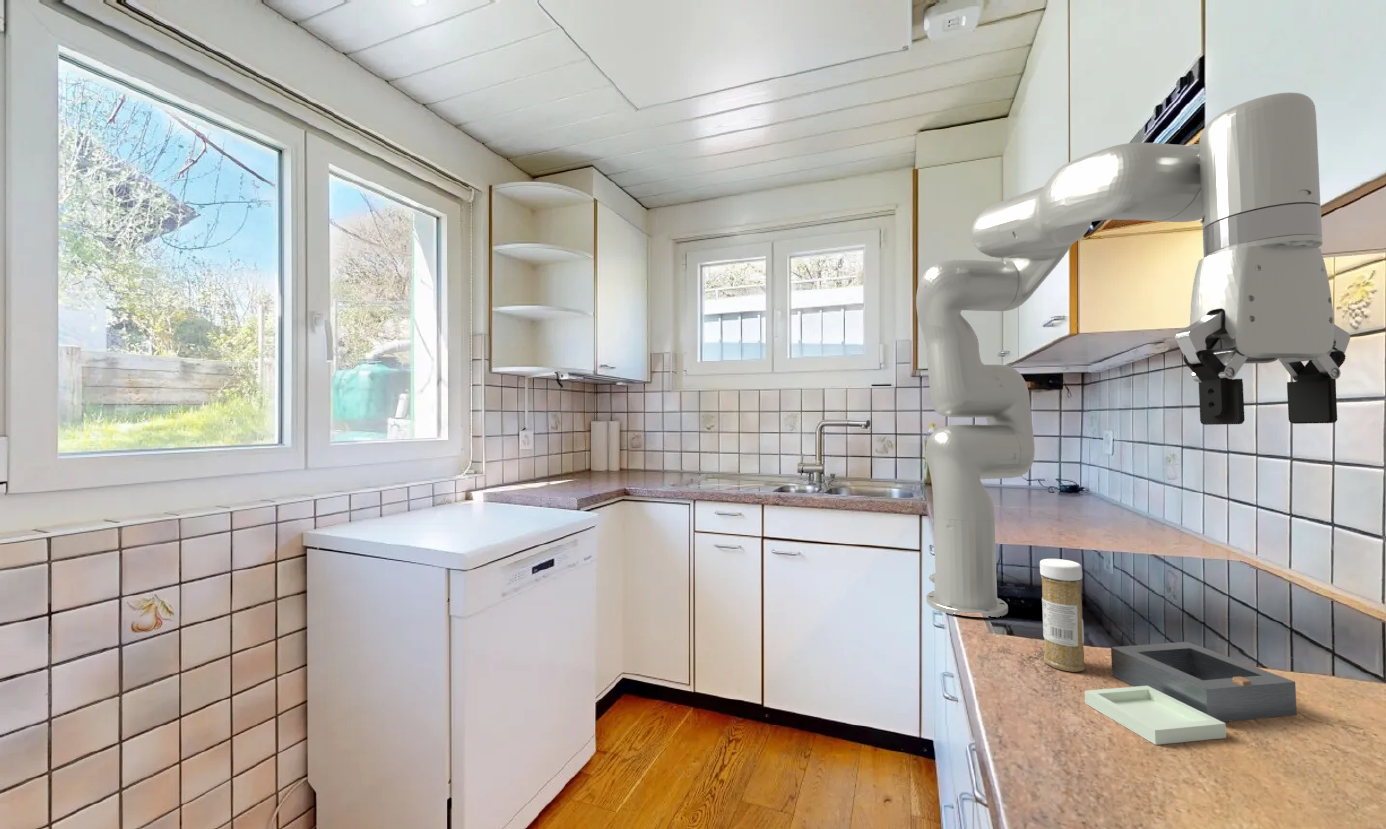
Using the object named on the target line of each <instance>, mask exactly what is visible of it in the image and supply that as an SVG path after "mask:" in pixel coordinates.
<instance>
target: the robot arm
mask: <svg viewBox="0 0 1386 829" xmlns="http://www.w3.org/2000/svg"><path fill="white" fill-rule="evenodd" d="M1317 128H1318V126H1317V111H1316V106H1315V102H1314V101H1313V100H1312V99H1311V98H1310V97H1309V96H1307V95H1306V94H1304V93H1301V92H1280V93H1273V94H1269V95H1265V96H1260V97H1258V98H1253V99H1251V100H1248V101H1244V102H1242V103H1239V104H1237V105H1235V106H1233V107H1231V108H1228V109H1227V110H1225V111H1223V112H1221V113H1219V114H1218V115H1217V116H1215V117H1214V118H1213V119H1212V120H1210V121H1209V122H1208V123H1207V124H1206V125H1205V127H1204V128H1203V130H1202V131H1201V134H1200V137H1199V139H1198V143H1195V144H1194V143H1193V144H1173V143H1172V144H1171V143H1163V142H1162V143H1160V142H1129V143H1122V144H1117V145H1113V146H1110V147H1109V146H1108V147H1106V148H1103V149H1101V150H1098V151H1097V150H1096V151H1095V152H1093V153H1089V154H1086V155H1084V156H1081V157H1079V158H1076V159H1074V160H1071V161H1069V162H1067V163H1065V164H1064V165H1062V166H1061V167H1059V168H1058V169H1057V170H1056V171H1054V173H1053V174H1052V175H1051V176H1050V178H1049V179H1048V180H1047V182H1046V183H1045V184H1044V186H1042V187H1038V188H1035V189H1033V190H1030V191H1028V192H1025V193H1022V194H1019V195H1016V196H1012V197H1010V198H1007V199H1005V200H1002V201H999V202H997V203H994V204H992V205H990V206H988V207H987V208H986V209H985V208H984V210H982V212H980V213H979V215H978V216H977V217H976V218H975V220H974V221H973V224H972V226H971V231H970V238H971V241H972V244H973V245H974V247H975V248H976V249H977V250H978V251H979V252H980V253H982V254H984V255H986V256H988V257H991V258H997V259H998V258H999V259H1008V260H1007V261H1006V260H1005V261H1001V260H983V259H981V260H979V259H952V260H945V261H941V262H938V263H935V264H933V265H931V266H930V267H929V268H927V270H926V271H924V273H923V275H922V276H921V278H920V281H919V282H918V287H917V289H916V298H915V303H916V304H915V307H916V313H917V314H916V315H917V319H918V322H919V326H920V328H921V331H922V335H923V338H924V341H925V348H926V361H927V371H928V372H927V374H928V383H929V384H928V385H929V394H930V400H931V405H932V407H933V409H934V411H935V412H936V413H937V414H938V415H941V416H942V417H947V418H948V417H949V418H985V419H986V423H987V424H954V425H947V426H943V427H940V428H938V429H936V430H934V431H933V432H932V433H931V434H930V435H929V436H928V439H927V441H926V442H925V443H926V444H925V457H926V461H927V467H928V471H929V474H930V480H931V482H930V483H931V490H932V503H933V504H932V505H933V527H934V528H933V534H934V535H933V536H934V571H935V572H934V573H933V574H930V575H929V576H928V579H929V581H930V582H931V583H934V590H933V591H930V592H928V593H927V594H926V595H925V596H926V598H925V599H926V603H927V605H929V607H931V608H932V609H934V610H936V611H939V612H942V613H945V614H947V615H948V614H949V615H953V613H954V612H965V613H983V614H985V615H987V616H991V617H996V618H1001V617H1003V616H1006V615H1007V614H1008V612H1009V606H1008V604H1007V603H1006V602H1005V601H1004V600H1002V599H1001V598H998V590H997V589H998V588H997V586H998V585H997V584H998V583H997V579H998V578H997V551H996V549H997V548H996V519H995V518H996V517H995V516H996V515H995V506H994V502H993V500H992V497H991V494H989V492H988V491H987V489H986V487H985V486H984V485H983V483H982V481H981V480H991V479H993V480H994V479H999V480H1000V479H1013V478H1018V477H1019V478H1020V477H1021V476H1024V475H1026V474H1027V473H1028V472H1029V470H1030V469H1031V467H1032V465H1033V463H1034V460H1035V452H1036V450H1035V437H1034V436H1035V435H1034V430H1033V429H1034V428H1033V419H1032V410H1031V401H1030V394H1029V389H1028V385H1027V382H1026V380H1025V379H1024V377H1023V375H1022V374H1021V373H1020V372H1019V371H1018V370H1017V369H1015V368H1014V367H1012V366H1008V365H1005V364H984V363H983V362H982V360H981V356H980V355H981V354H980V346H979V339H978V335H977V334H976V332H975V331H974V329H973V326H972V325H971V324H970V323H969V321H968V320H967V319H966V318H964V316H962V314H961V312H962V311H975V312H977V311H979V312H980V311H981V312H1006V311H1012V310H1015V309H1017V308H1018V307H1021V306H1022V305H1023V304H1024V303H1025V302H1027V300H1029V299H1030V297H1032V295H1033V294H1034V293H1035V291H1037V289H1038V288H1039V287H1040V286H1041V285H1042V283H1043V282H1044V281H1045V280H1046V279H1047V277H1048V276H1049V275H1050V274H1051V273H1052V272H1053V270H1054V269H1056V267H1057V265H1059V263H1060V262H1061V261H1062V259H1063V258H1064V257H1065V255H1066V254H1067V253H1068V252H1069V251H1070V249H1071V247H1072V246H1073V244H1074V243H1076V242H1078V241H1079V240H1080V239H1081V238H1083V237H1084V236H1085V234H1087V232H1088V231H1089V229H1090V227H1091V226H1092V222H1098V221H1105V220H1106V221H1107V220H1118V221H1119V220H1120V221H1121V220H1125V221H1126V220H1127V221H1128V220H1129V221H1147V222H1148V221H1149V222H1151V221H1152V222H1163V223H1164V222H1166V223H1188V222H1195V221H1199V220H1202V221H1201V223H1202V224H1201V225H1202V244H1203V246H1202V248H1203V258H1201V259H1200V260H1198V262H1197V267H1196V270H1195V274H1194V278H1193V285H1192V292H1191V301H1190V314H1189V315H1190V318H1189V320H1190V322H1189V325H1188V326H1186V327H1185V328H1183V329H1181V330H1179V331H1178V332H1177V333H1176V334H1175V337H1174V338H1175V341H1176V342H1177V344H1178V347H1179V348H1180V351H1181V354H1182V355H1183V362H1184V364H1185V365H1186V366H1187V368H1189V369H1190V370H1191V371H1192V373H1191V378H1192V380H1193V381H1194V382H1196V383H1198V398H1199V403H1198V404H1199V421H1200V423H1201V424H1202V425H1204V426H1205V425H1206V426H1207V425H1211V426H1212V425H1217V426H1218V425H1219V426H1220V425H1242V424H1243V423H1244V422H1245V420H1246V419H1245V404H1244V403H1245V401H1244V400H1245V399H1244V383H1243V378H1235V377H1236V376H1237V374H1238V373H1239V371H1240V370H1241V368H1242V367H1243V365H1244V364H1269V363H1274V362H1276V361H1279V362H1280V363H1281V365H1282V366H1283V367H1284V369H1285V370H1286V372H1288V374H1289V375H1290V377H1291V378H1292V379H1293V380H1294V381H1287V382H1286V392H1287V409H1288V410H1287V413H1288V414H1287V415H1288V422H1289V423H1291V424H1296V425H1298V424H1300V425H1301V424H1305V425H1306V424H1335V423H1337V421H1338V406H1337V405H1338V404H1337V383H1336V380H1338V379H1339V378H1340V377H1341V369H1340V368H1341V367H1342V365H1343V364H1344V363H1345V360H1346V354H1345V353H1346V351H1347V349H1348V347H1349V346H1348V345H1349V343H1350V341H1351V335H1350V333H1349V332H1348V331H1346V330H1345V329H1343V328H1341V327H1340V326H1338V325H1337V324H1335V321H1334V320H1335V319H1334V318H1335V317H1334V309H1333V308H1334V307H1333V300H1332V293H1331V287H1330V281H1329V276H1328V271H1327V267H1326V264H1325V260H1324V256H1323V254H1322V249H1321V248H1320V247H1321V246H1322V245H1323V238H1322V237H1323V230H1322V229H1323V228H1322V227H1323V225H1322V208H1321V191H1320V190H1321V188H1320V169H1319V166H1320V165H1319V149H1318V146H1319V145H1318V129H1317ZM1306 361H1307V362H1306ZM1303 362H1306V364H1305V365H1304V364H1303ZM1234 378H1235V379H1234ZM953 616H954V615H953ZM1000 616H1001V617H1000Z"/></svg>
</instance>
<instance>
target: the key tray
mask: <svg viewBox="0 0 1386 829" xmlns="http://www.w3.org/2000/svg"><path fill="white" fill-rule="evenodd" d="M1084 704H1086V705H1087V706H1089V707H1090V708H1092V709H1094V710H1096V711H1097V712H1099V713H1100V714H1102V715H1104V716H1106V717H1108V718H1109V719H1111V720H1112V721H1114V722H1116V723H1117V724H1119V725H1121V726H1123V727H1124V728H1126V729H1128V730H1130V731H1131V732H1133V733H1135V734H1136V735H1138V736H1139V737H1141V738H1143V739H1145V740H1146V741H1148V742H1151V743H1152V744H1154V745H1167V744H1168V745H1169V744H1176V743H1177V744H1178V743H1189V742H1198V741H1207V740H1208V741H1209V740H1217V739H1227V729H1226V728H1227V725H1226V723H1227V722H1221V721H1219V720H1217V719H1215V718H1213V717H1211V716H1209V715H1207V714H1205V713H1203V712H1201V711H1199V710H1197V709H1195V708H1193V707H1191V706H1188V705H1186V704H1184V703H1182V702H1180V701H1178V700H1176V699H1174V698H1172V697H1170V696H1168V695H1166V694H1164V693H1162V692H1160V691H1158V690H1156V689H1153V688H1151V687H1149V686H1136V687H1134V686H1126V687H1116V688H1115V687H1113V688H1100V689H1092V690H1091V689H1088V690H1084Z"/></svg>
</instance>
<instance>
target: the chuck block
mask: <svg viewBox="0 0 1386 829" xmlns="http://www.w3.org/2000/svg"><path fill="white" fill-rule="evenodd" d="M1110 655H1111V657H1110V658H1111V660H1110V661H1111V676H1112V677H1114V678H1116V679H1118V680H1120V681H1122V682H1124V683H1126V684H1129V686H1131V687H1136V686H1149V687H1151V688H1153V689H1156V690H1158V691H1160V692H1162V693H1164V694H1166V695H1168V696H1170V697H1172V698H1174V699H1176V700H1178V701H1180V702H1182V703H1184V704H1186V705H1188V706H1191V707H1193V708H1195V709H1197V710H1199V711H1201V712H1203V713H1205V714H1207V715H1209V716H1211V717H1213V718H1215V719H1217V720H1219V721H1221V722H1224V723H1228V722H1236V721H1245V720H1259V719H1267V718H1268V719H1270V718H1277V717H1278V718H1279V717H1280V718H1281V717H1289V716H1297V715H1298V714H1297V710H1298V709H1297V694H1296V693H1297V691H1296V690H1297V689H1296V686H1297V685H1296V681H1294V680H1291V679H1289V678H1285V677H1283V676H1281V675H1277V674H1276V673H1273V672H1270V671H1267V670H1265V669H1262V668H1259V667H1256V666H1254V665H1251V664H1249V663H1246V662H1243V661H1240V660H1238V659H1235V658H1233V657H1231V656H1227V655H1225V654H1222V653H1219V652H1217V651H1214V650H1211V649H1208V648H1206V647H1202V646H1201V645H1198V644H1194V643H1192V642H1189V641H1182V642H1181V641H1178V642H1177V641H1176V642H1164V643H1152V644H1138V645H1136V644H1135V645H1121V646H1112V647H1110Z"/></svg>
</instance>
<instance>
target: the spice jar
mask: <svg viewBox="0 0 1386 829" xmlns="http://www.w3.org/2000/svg"><path fill="white" fill-rule="evenodd" d="M1082 568H1083V567H1082V565H1081V564H1080V563H1079V562H1077V561H1073V560H1069V559H1060V558H1043V559H1041V560H1040V561H1039V574H1040V577H1041V590H1042V591H1041V593H1042V597H1041V603H1042V604H1041V605H1042V606H1041V607H1042V635H1043V646H1044V656H1043V661H1044V662H1045V663H1046V664H1047V665H1048V666H1050V667H1053V668H1054V669H1057V670H1060V671H1063V672H1064V671H1066V672H1073V673H1077V672H1083V671H1084V670H1085V669H1086V663H1085V648H1084V647H1085V646H1084V643H1085V633H1084V632H1085V631H1084V629H1085V628H1084V619H1083V604H1082V603H1083V602H1082V601H1083V599H1082V587H1081V586H1082V585H1081V584H1082V579H1083V569H1082Z"/></svg>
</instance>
